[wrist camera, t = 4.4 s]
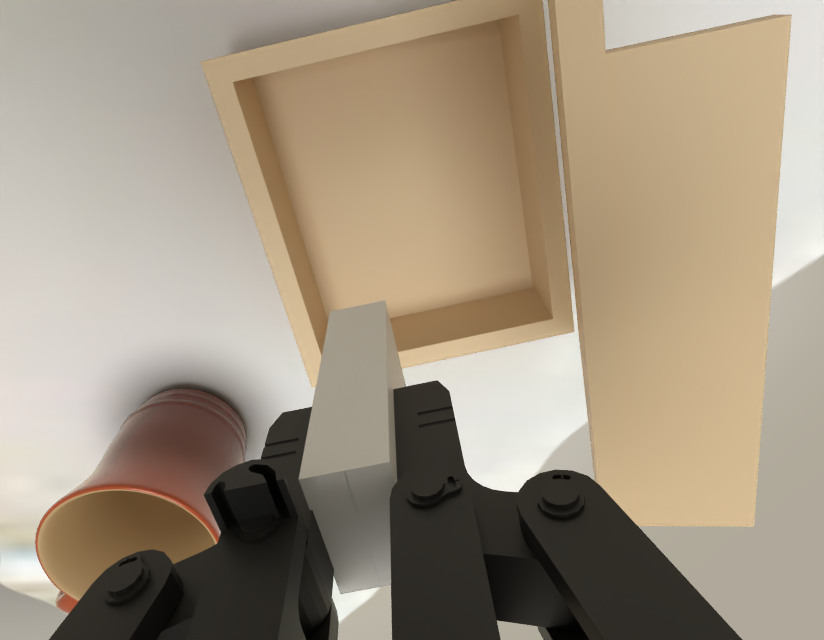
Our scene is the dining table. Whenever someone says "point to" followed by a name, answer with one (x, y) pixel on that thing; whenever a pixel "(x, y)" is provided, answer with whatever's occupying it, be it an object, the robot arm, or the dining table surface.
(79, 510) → the mug
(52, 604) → the dining table surface
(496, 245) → the mailer box
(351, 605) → the dining table surface
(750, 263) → the lid
